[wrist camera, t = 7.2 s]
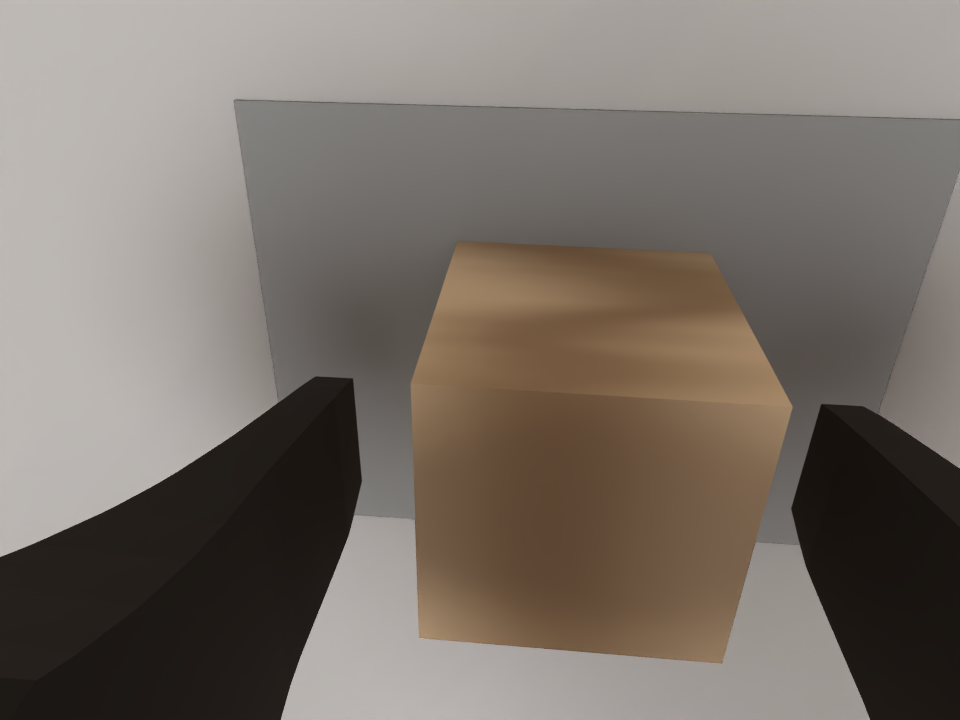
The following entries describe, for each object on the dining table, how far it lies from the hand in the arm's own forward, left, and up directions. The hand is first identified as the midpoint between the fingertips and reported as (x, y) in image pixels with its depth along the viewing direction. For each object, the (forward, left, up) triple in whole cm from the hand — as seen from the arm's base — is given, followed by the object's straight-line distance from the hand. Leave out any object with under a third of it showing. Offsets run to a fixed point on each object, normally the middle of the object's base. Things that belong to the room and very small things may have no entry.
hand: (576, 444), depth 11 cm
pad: (0, 0, -3) cm, 3 cm away
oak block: (0, 0, -3) cm, 3 cm away
